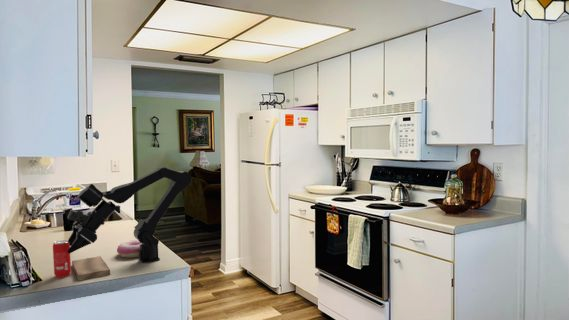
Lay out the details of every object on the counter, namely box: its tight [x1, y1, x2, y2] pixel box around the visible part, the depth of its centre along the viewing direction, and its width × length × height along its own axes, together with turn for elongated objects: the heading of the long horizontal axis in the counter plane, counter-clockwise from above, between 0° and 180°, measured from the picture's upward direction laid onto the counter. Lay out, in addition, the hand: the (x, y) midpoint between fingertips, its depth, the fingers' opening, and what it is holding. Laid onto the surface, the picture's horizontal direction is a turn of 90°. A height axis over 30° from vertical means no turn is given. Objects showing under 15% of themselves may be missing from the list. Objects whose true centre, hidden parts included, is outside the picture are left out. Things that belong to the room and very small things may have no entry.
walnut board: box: [71, 255, 111, 281], centre depth 148 cm, size 10×20×2 cm, turn 33°
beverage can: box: [52, 239, 72, 279], centre depth 142 cm, size 5×5×12 cm
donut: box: [116, 239, 142, 258], centre depth 167 cm, size 14×13×5 cm
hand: (66, 249), depth 143 cm, fingers open, 9 cm apart
